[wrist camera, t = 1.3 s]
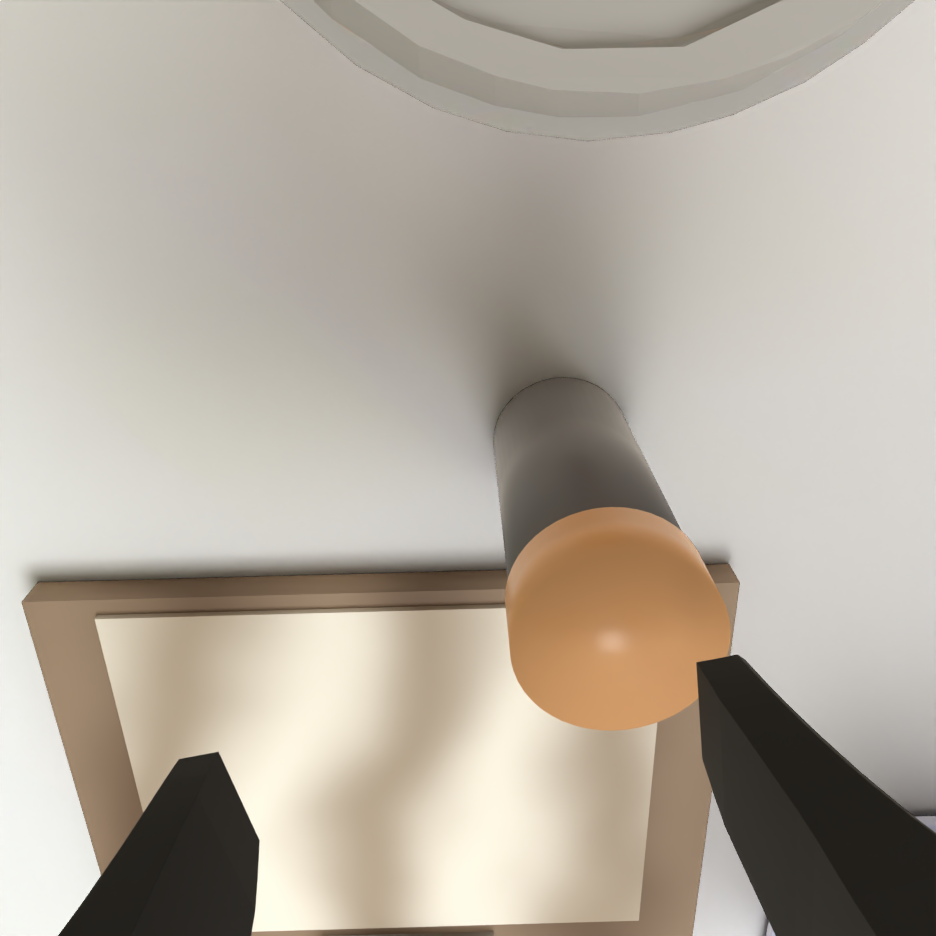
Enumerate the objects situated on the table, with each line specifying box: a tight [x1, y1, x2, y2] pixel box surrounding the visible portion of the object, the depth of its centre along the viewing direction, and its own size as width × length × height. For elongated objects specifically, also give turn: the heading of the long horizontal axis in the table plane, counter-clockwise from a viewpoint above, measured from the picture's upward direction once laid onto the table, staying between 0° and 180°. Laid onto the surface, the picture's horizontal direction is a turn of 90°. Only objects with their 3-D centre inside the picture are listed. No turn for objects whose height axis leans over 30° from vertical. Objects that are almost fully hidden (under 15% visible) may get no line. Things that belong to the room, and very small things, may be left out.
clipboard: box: [22, 564, 740, 936], centre depth 27 cm, size 20×16×2 cm
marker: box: [493, 378, 731, 731], centre depth 19 cm, size 4×4×9 cm
